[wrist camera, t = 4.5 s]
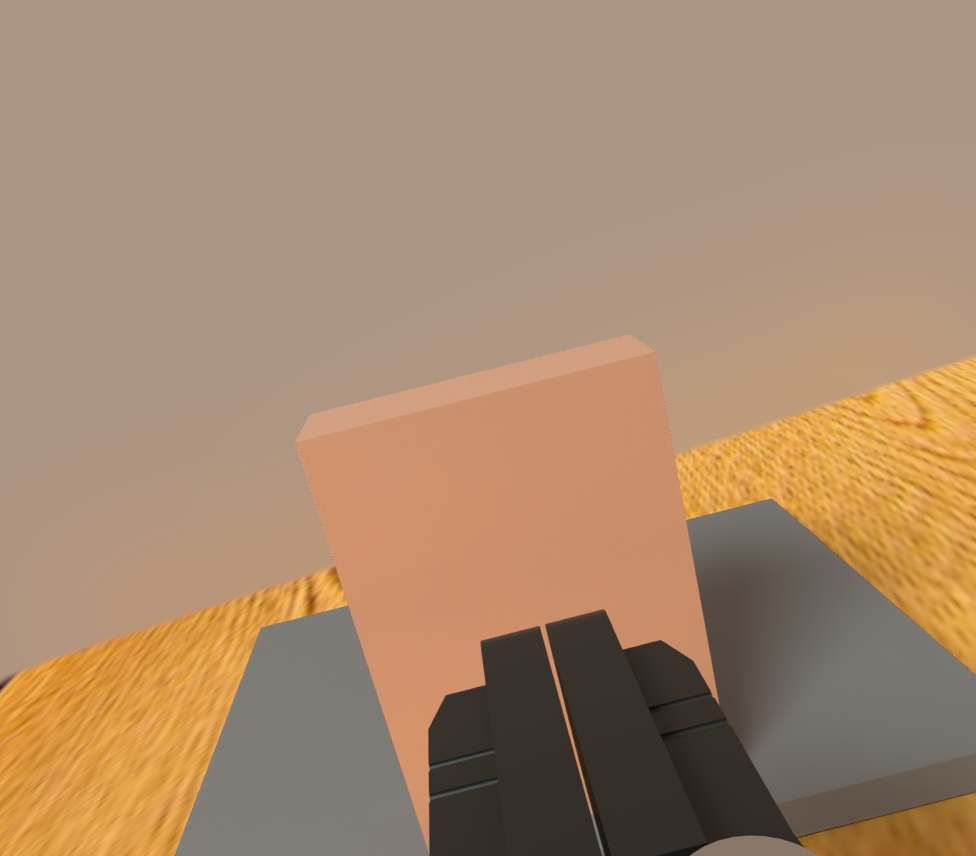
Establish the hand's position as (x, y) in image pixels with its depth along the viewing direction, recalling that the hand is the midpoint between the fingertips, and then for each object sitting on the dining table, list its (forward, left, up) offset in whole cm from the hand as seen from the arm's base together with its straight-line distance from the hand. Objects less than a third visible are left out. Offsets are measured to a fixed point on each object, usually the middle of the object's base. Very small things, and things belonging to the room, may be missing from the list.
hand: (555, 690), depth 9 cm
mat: (0, -13, -9) cm, 15 cm away
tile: (0, -8, -8) cm, 11 cm away
